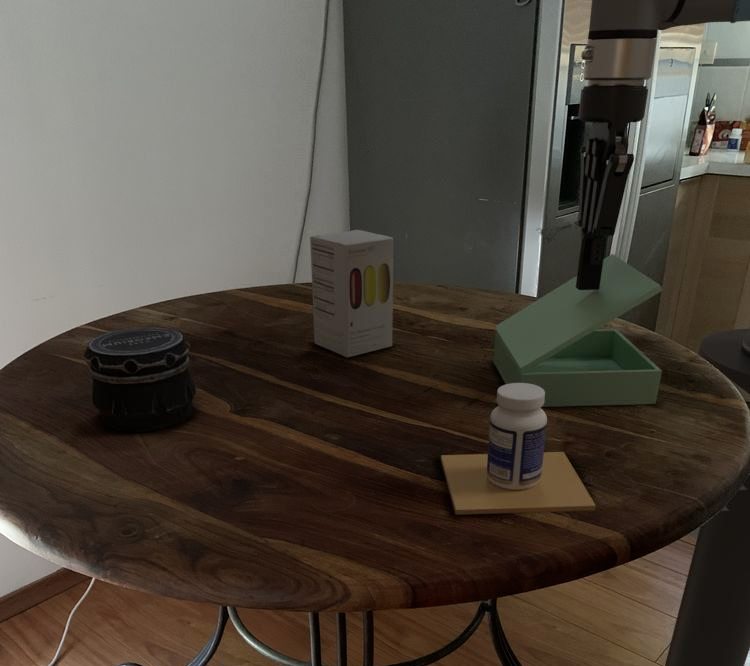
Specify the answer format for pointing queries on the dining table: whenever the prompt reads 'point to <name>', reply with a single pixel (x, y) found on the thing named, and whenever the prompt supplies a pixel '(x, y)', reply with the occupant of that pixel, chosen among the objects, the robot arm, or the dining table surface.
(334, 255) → the supplement box
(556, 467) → the cork mat
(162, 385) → the container
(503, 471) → the pill bottle
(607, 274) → the chest lid
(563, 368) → the chest
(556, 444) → the dining table surface
